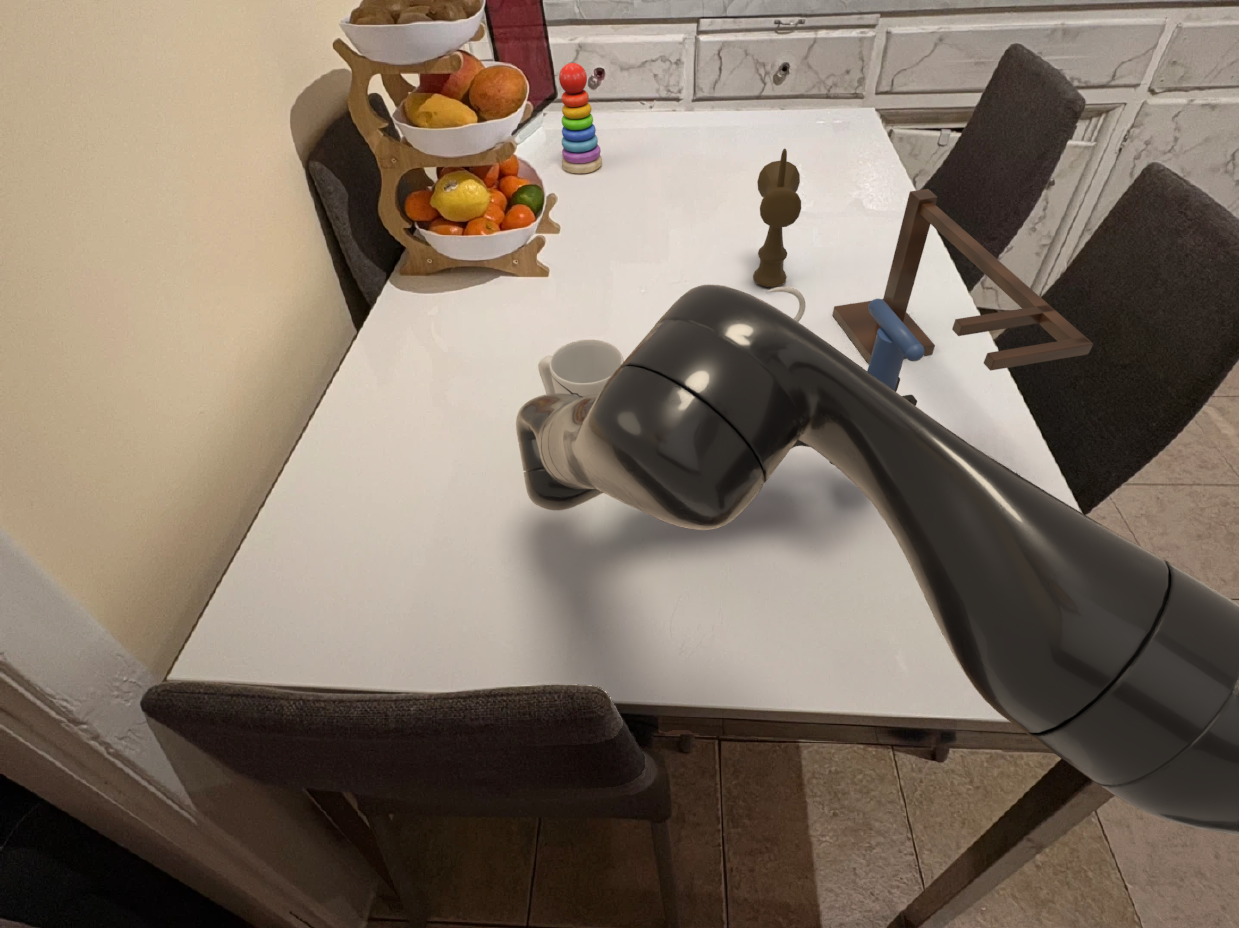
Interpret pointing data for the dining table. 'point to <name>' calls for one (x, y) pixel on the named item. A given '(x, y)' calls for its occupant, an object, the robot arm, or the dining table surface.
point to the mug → (580, 367)
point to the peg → (891, 344)
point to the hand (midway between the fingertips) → (904, 393)
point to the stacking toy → (577, 123)
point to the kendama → (776, 217)
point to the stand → (1033, 312)
